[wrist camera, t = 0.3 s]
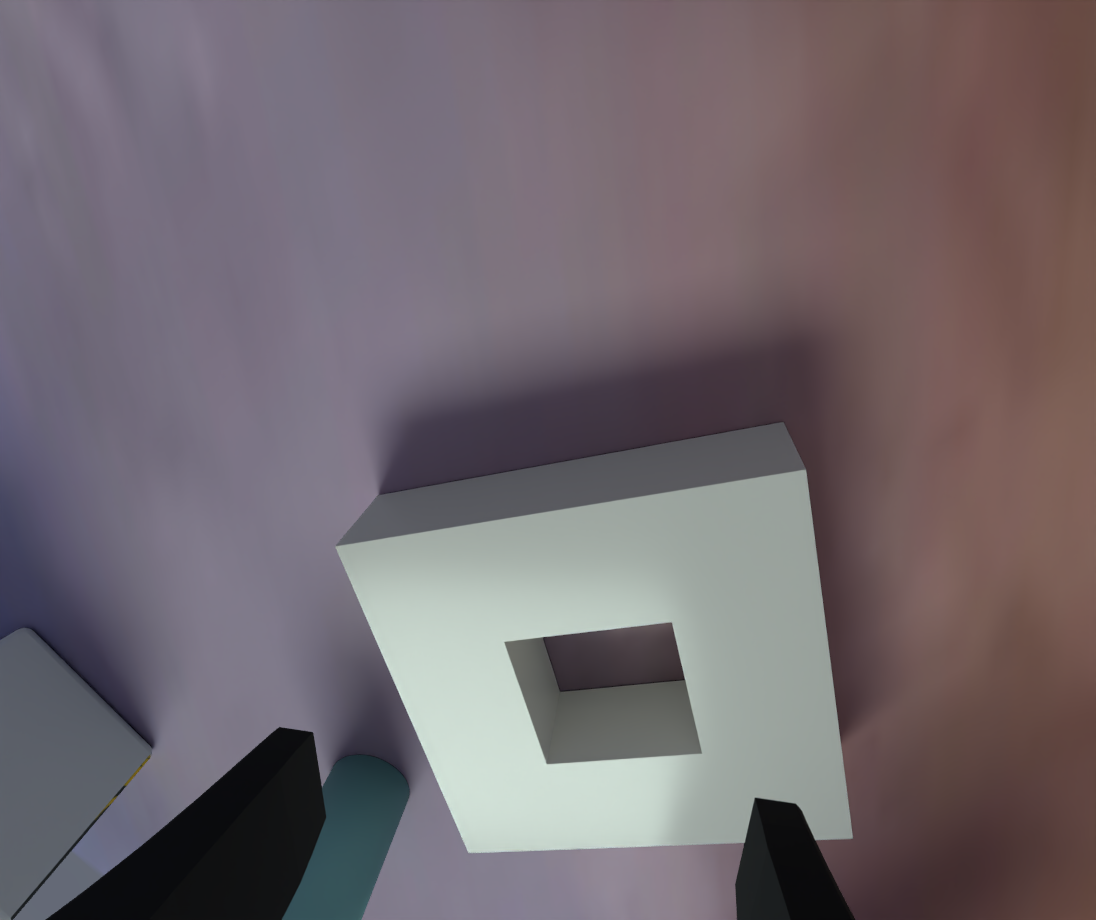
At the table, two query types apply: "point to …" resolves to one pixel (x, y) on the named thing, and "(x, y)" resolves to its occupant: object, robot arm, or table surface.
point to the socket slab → (601, 604)
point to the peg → (351, 839)
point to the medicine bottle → (52, 763)
